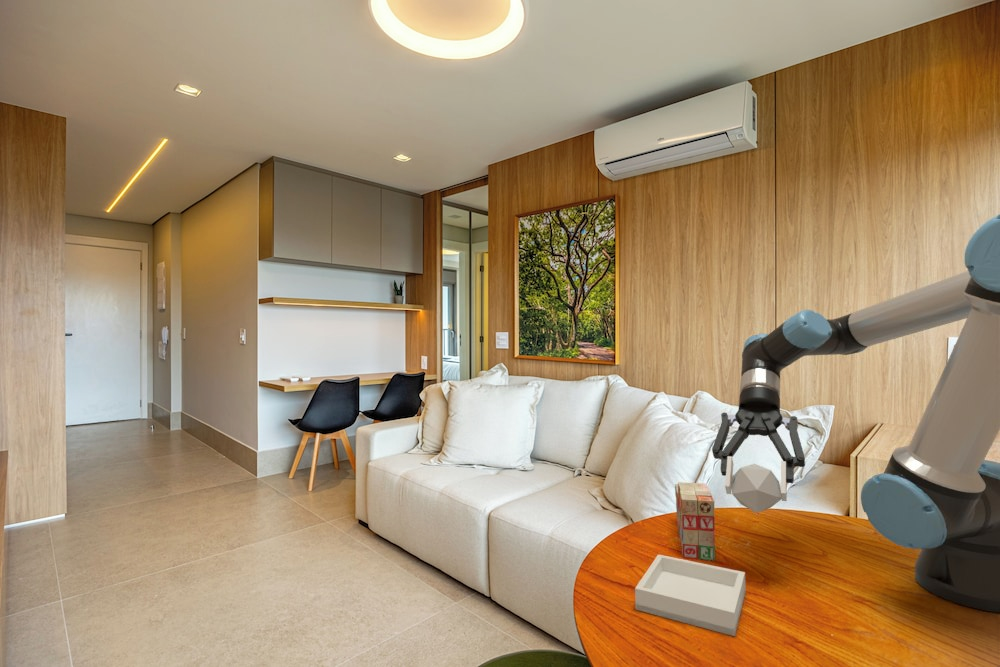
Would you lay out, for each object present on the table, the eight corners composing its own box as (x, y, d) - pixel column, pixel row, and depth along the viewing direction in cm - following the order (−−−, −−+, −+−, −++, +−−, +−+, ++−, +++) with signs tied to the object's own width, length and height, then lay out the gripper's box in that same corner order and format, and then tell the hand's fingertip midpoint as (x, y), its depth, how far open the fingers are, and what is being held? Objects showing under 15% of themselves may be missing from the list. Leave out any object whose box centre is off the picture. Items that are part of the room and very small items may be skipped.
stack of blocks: (676, 521, 122) (674, 471, 122) (703, 523, 120) (702, 472, 121) (682, 558, 102) (681, 498, 102) (716, 562, 100) (714, 500, 100)
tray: (745, 592, 88) (745, 572, 88) (734, 636, 75) (734, 612, 75) (658, 572, 95) (658, 554, 95) (635, 609, 83) (635, 588, 83)
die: (747, 501, 99) (719, 464, 99) (790, 486, 95) (760, 446, 95) (750, 529, 92) (719, 489, 92) (796, 514, 88) (764, 472, 87)
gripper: (819, 409, 101) (824, 513, 87) (708, 404, 112) (696, 496, 98) (819, 385, 97) (824, 490, 83) (703, 383, 108) (690, 475, 94)
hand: (755, 493), depth 90 cm, fingers closed on die, 8 cm apart
